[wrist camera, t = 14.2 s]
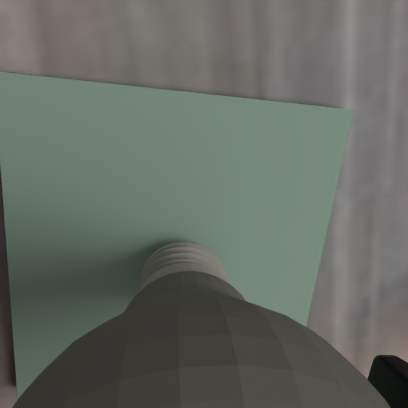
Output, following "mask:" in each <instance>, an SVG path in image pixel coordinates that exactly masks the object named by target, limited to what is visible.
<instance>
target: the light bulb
mask: <svg viewBox="0 0 408 408" xmlns="http://www.w3.org/2000/svg"><path fill="white" fill-rule="evenodd" d="M13 408H390V406H389V405H388V403H387V402H386V400H385V399H384V398H383V397H382V396H381V394H380V393H379V392H378V391H377V390H376V389H375V388H374V387H373V385H372V384H371V383H370V382H369V381H368V380H367V379H366V378H365V376H364V375H362V374H361V373H360V372H359V371H358V370H357V369H356V368H355V367H354V366H353V365H352V364H351V363H350V362H349V361H348V360H347V359H345V358H344V357H343V356H342V355H341V354H340V353H339V352H338V351H337V350H336V349H334V348H333V347H332V346H331V345H330V344H329V343H328V342H327V341H325V340H324V339H323V338H321V337H320V336H319V335H317V334H316V333H315V332H314V331H312V330H310V329H309V328H307V327H305V326H303V325H302V324H300V323H298V322H297V321H295V320H293V319H291V318H290V317H288V316H286V315H284V314H281V313H278V312H275V311H272V310H269V309H266V308H264V307H261V306H259V305H256V304H253V303H250V302H247V301H246V300H245V299H244V298H243V296H242V295H241V294H240V293H239V292H238V291H237V290H236V289H235V288H234V287H233V286H231V285H230V284H229V281H228V279H227V274H226V272H225V268H224V265H223V263H222V261H221V260H220V258H219V257H218V255H217V254H216V253H214V252H213V251H212V250H211V249H209V248H207V247H206V246H204V245H201V244H198V243H194V242H176V243H171V244H168V245H166V246H163V247H162V248H160V249H158V250H157V251H155V252H154V253H153V254H152V255H151V256H150V257H149V259H148V260H147V261H146V263H145V265H144V268H143V271H142V276H141V283H140V288H139V293H138V294H137V295H136V296H135V297H134V298H133V299H132V301H131V302H130V303H129V305H128V306H127V308H126V310H125V312H123V313H121V314H120V315H118V316H116V317H114V318H112V319H110V320H108V321H106V322H104V323H103V324H101V325H99V326H98V327H96V328H95V329H93V330H91V331H90V332H88V333H87V334H85V335H83V336H82V337H80V338H79V339H77V340H75V341H74V342H73V343H72V344H71V345H70V346H68V347H67V348H66V349H65V350H64V351H63V352H62V353H61V354H60V355H59V356H58V357H57V358H56V359H55V360H54V361H52V362H51V363H50V364H49V365H48V366H47V367H46V368H45V369H44V370H43V371H42V372H41V373H40V374H39V375H38V376H37V377H36V379H35V380H34V381H33V382H32V383H31V384H30V385H29V387H28V388H27V389H26V390H25V391H24V392H23V393H22V395H21V396H20V397H19V399H18V400H17V402H16V403H15V405H14V406H13Z"/></svg>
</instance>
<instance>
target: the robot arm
mask: <svg viewBox="0 0 408 408" xmlns="http://www.w3.org/2000/svg"><path fill="white" fill-rule="evenodd" d="M367 380H368V381H369V382H370V383H371V384H372V385H373V387H374V388H375V389H376V390H377V391H378V392H379V393H380V394H381V396H382V397H383V398H384V399H385V400H386V402H387V403H388V405H389V406H390V408H408V363H407V362H405V361H404V360H402V359H400V358H399V357H397V356H394V355H378V356H376V357H375V358H374V360H373V363H372V366H371V369H370V373H369V376H368V379H367Z"/></svg>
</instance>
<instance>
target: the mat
mask: <svg viewBox="0 0 408 408" xmlns="http://www.w3.org/2000/svg"><path fill="white" fill-rule="evenodd" d="M353 112H354V110H351V109H342V108H332V107H323V106H314V105H304V104H295V103H286V102H277V101H267V100H258V99H249V98H239V97H230V96H221V95H212V94H202V93H193V92H184V91H174V90H165V89H156V88H146V87H137V86H128V85H119V84H109V83H100V82H91V81H81V80H72V79H63V78H53V77H44V76H35V75H26V74H16V73H7V72H0V166H1V180H2V194H3V207H4V221H5V234H6V248H7V262H8V275H9V289H10V303H11V316H12V330H13V344H14V357H15V371H16V385H17V398H18V399H19V397H20V396H21V395H22V393H23V392H24V391H25V390H26V389H27V388H28V387H29V385H30V384H31V383H32V382H33V381H34V380H35V379H36V377H37V376H38V375H39V374H40V373H41V372H42V371H43V370H44V369H45V368H46V367H47V366H48V365H49V364H50V363H51V362H52V361H54V360H55V359H56V358H57V357H58V356H59V355H60V354H61V353H62V352H63V351H64V350H65V349H66V348H67V347H68V346H70V345H71V344H72V343H73V342H74V341H75V340H77V339H79V338H80V337H82V336H83V335H85V334H87V333H88V332H90V331H91V330H93V329H95V328H96V327H98V326H99V325H101V324H103V323H104V322H106V321H108V320H110V319H112V318H114V317H116V316H118V315H120V314H121V313H123V312H125V310H126V308H127V306H128V305H129V303H130V302H131V301H132V299H133V298H134V297H135V296H136V295H137V294H138V293H139V288H140V283H141V276H142V271H143V268H144V265H145V263H146V261H147V260H148V259H149V257H150V256H151V255H152V254H153V253H154V252H155V251H157V250H158V249H160V248H162V247H163V246H166V245H168V244H171V243H176V242H194V243H198V244H201V245H204V246H206V247H207V248H209V249H211V250H212V251H213V252H214V253H216V254H217V255H218V257H219V258H220V260H221V261H222V263H223V265H224V268H225V272H226V274H227V279H228V281H229V284H230V285H231V286H233V287H234V288H235V289H236V290H237V291H238V292H239V293H240V294H241V295H242V296H243V298H244V299H245V300H246V301H247V302H250V303H253V304H256V305H259V306H261V307H264V308H266V309H269V310H272V311H275V312H278V313H281V314H284V315H286V316H288V317H290V318H291V319H293V320H295V321H297V322H298V323H300V324H302V325H303V326H305V327H306V324H307V319H308V315H309V310H310V306H311V301H312V297H313V292H314V288H315V283H316V279H317V274H318V270H319V265H320V261H321V256H322V252H323V247H324V243H325V238H326V234H327V229H328V225H329V220H330V216H331V211H332V207H333V202H334V198H335V193H336V189H337V184H338V180H339V175H340V171H341V166H342V162H343V157H344V153H345V148H346V144H347V139H348V135H349V130H350V126H351V121H352V117H353Z"/></svg>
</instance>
